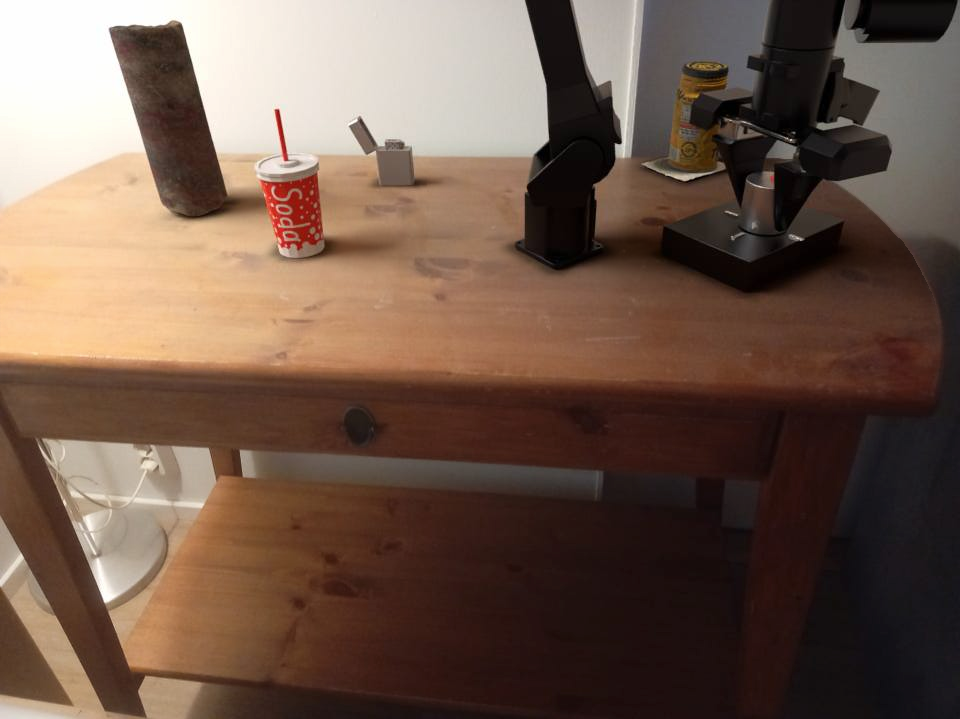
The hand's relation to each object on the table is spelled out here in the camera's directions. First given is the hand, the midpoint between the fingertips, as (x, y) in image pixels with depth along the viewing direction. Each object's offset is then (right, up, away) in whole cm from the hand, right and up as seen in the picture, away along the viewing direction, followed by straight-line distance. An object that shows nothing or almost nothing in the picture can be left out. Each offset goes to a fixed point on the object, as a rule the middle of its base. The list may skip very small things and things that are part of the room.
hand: (763, 221), depth 69 cm
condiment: (-1, +11, +23) cm, 26 cm away
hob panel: (0, -2, +3) cm, 4 cm away
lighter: (-38, +9, +22) cm, 45 cm away
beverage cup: (-45, -2, +7) cm, 46 cm away
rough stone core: (-60, +5, +17) cm, 63 cm away
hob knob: (0, 0, 0) cm, 0 cm away
